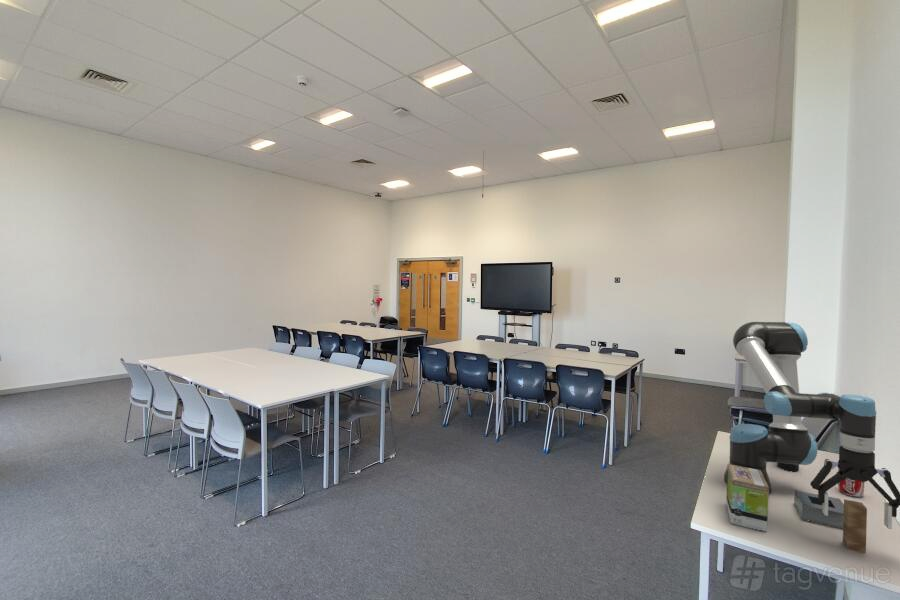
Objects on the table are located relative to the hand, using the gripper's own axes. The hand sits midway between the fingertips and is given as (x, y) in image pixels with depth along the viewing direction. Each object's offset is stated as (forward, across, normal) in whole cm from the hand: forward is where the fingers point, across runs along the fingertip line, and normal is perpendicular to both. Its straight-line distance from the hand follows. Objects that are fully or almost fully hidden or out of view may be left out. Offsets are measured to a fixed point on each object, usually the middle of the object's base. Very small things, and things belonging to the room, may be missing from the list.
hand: (855, 520), depth 121 cm
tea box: (+8, -26, +3) cm, 28 cm away
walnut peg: (+8, 0, 0) cm, 8 cm away
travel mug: (+8, -6, +60) cm, 61 cm away
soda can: (+8, +10, +44) cm, 46 cm away
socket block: (+8, -4, +17) cm, 20 cm away
